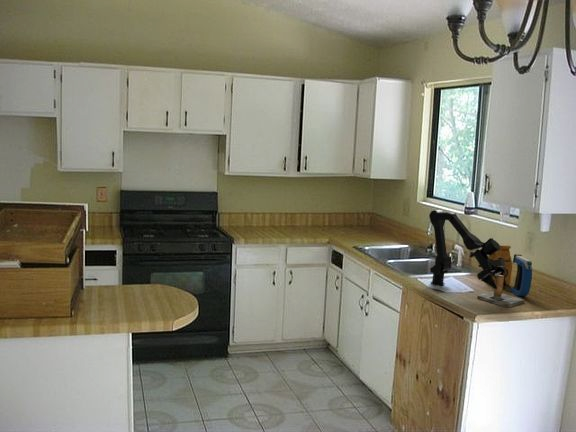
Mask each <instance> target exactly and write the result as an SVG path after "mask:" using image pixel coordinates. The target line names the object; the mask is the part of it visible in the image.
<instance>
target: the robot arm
mask: <svg viewBox="0 0 576 432" xmlns="http://www.w3.org/2000/svg"><path fill="white" fill-rule="evenodd" d="M428 216H429V221H430V223H431V226H433V230H434V232H433V233H434V240H435V249H436V257H435V259H434V265H433V266H432V267H429V268H430V273H431V274H432V280H431V282H430V285H434V286H440V287H443V286H445V282H444V280H445V274H448V272H449V270H451V269H452V265H453V262H452V257H451V256H449V255H448V253H447V246H446V238H445V237H446V236H445V230H444V229H445V228H444V226H445V223H446V221H448V222H449V223H450V224H451V225H452V227H453V228H454V229H455V231H456V232H457V233H458V234H459V235H460V237H461V239H462V243H463V244H464V246H465V248H466V249H467V250H468V251H470V254H469V258H475V260H476V261H477V263H478V268H481V269H482V270H481V271H479V272H478V273H477V274H476V278H477V279H478V280H479V281H481V282H484V283H486V284H487V285H488V286H490V287H491V288H493V289H497V286H496V284H495V282H494V280H493V278H492V277H493V276H495V277H494V278H495V279H496V275H503V276H504V275H505V272H506V270H507V269H506V268H505V267H504V266H502V265H505V262H506V260H505V259H504V258H503V257H500V258H498V260H493V259H490V258H489V255H492V254H494V253H495V252H496V251H498V250H499V249H500V243H498V241H496V240H495V239H494V238H493V237H491V238H489V239H487V241H485V242H483V241H481V239H479V238H478V237H477V236H476V235H475V234H473V233H471V232H470V231H469V229H468V227H466V226H465V224H464V223H463V221H462V220H461V219H460V218H459V216H458V215H457V214H456V212H446V211H444V210H441V209H437V210H431V211H430V212H429V215H428ZM498 266H500V267H498ZM503 287H504V288H506V287H508V285H507V284H506V280H505V276H504V281H503Z"/></svg>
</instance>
